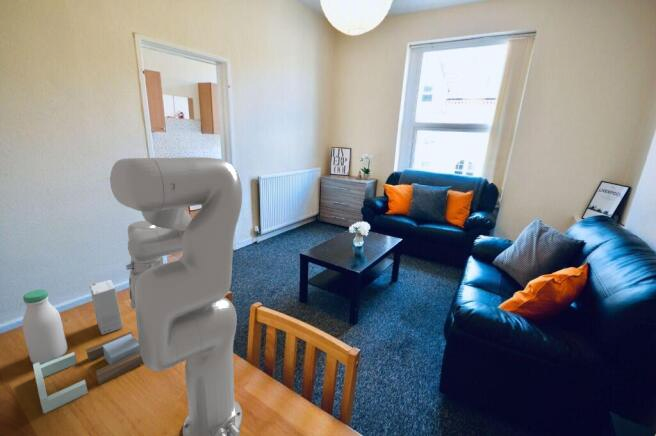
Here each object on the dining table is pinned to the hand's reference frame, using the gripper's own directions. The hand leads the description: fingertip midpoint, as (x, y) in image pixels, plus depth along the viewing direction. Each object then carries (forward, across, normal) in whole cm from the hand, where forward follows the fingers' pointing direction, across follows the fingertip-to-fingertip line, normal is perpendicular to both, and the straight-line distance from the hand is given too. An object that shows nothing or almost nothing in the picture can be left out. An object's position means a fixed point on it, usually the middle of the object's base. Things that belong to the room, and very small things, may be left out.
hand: (153, 318), depth 89 cm
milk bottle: (+9, -23, +14) cm, 28 cm away
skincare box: (+9, -8, +18) cm, 22 cm away
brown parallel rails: (+8, -10, -1) cm, 13 cm away
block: (+9, -9, -1) cm, 12 cm away
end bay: (+8, -22, -1) cm, 23 cm away
